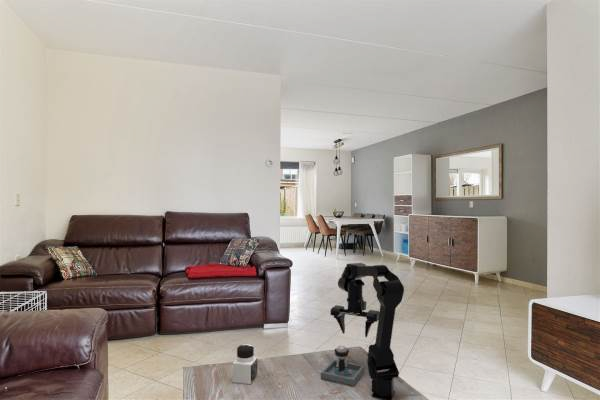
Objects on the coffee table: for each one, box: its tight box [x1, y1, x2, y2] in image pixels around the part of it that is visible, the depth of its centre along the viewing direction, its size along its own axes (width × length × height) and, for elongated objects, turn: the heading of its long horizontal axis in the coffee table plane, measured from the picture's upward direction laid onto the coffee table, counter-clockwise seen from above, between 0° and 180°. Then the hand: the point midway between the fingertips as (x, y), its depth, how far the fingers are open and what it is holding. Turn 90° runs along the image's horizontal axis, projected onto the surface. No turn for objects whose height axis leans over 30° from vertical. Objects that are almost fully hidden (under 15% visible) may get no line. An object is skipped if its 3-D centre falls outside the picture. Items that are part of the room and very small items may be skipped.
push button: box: [334, 345, 352, 376], centre depth 138 cm, size 7×5×10 cm
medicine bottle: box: [232, 343, 258, 385], centre depth 135 cm, size 7×7×12 cm
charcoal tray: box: [320, 359, 365, 388], centre depth 138 cm, size 13×13×2 cm
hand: (354, 335), depth 145 cm, fingers open, 9 cm apart
